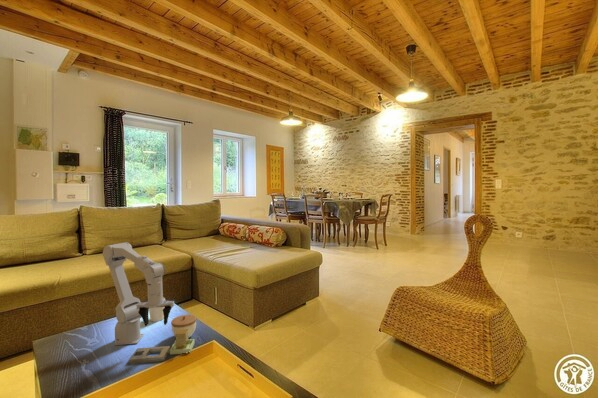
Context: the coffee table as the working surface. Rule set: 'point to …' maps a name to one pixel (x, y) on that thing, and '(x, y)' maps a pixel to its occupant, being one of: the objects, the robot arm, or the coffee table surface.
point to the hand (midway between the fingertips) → (156, 324)
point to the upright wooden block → (182, 339)
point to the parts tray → (180, 351)
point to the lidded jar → (184, 324)
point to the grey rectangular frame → (143, 353)
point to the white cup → (156, 313)
